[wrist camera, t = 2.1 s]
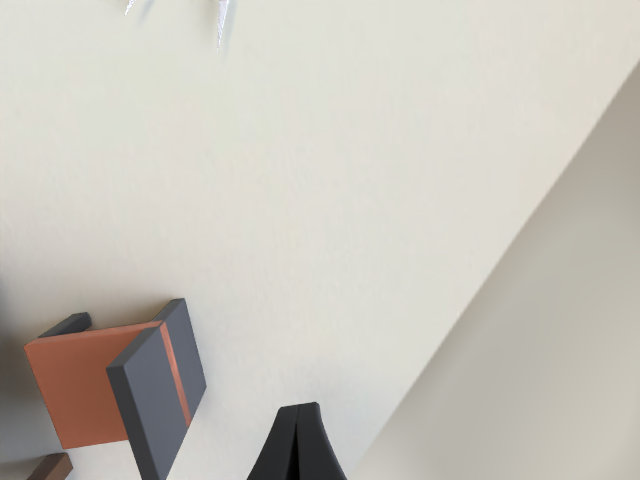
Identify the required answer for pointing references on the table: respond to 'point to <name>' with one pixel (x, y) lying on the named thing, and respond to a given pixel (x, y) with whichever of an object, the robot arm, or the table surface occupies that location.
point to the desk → (53, 468)
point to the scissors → (222, 12)
